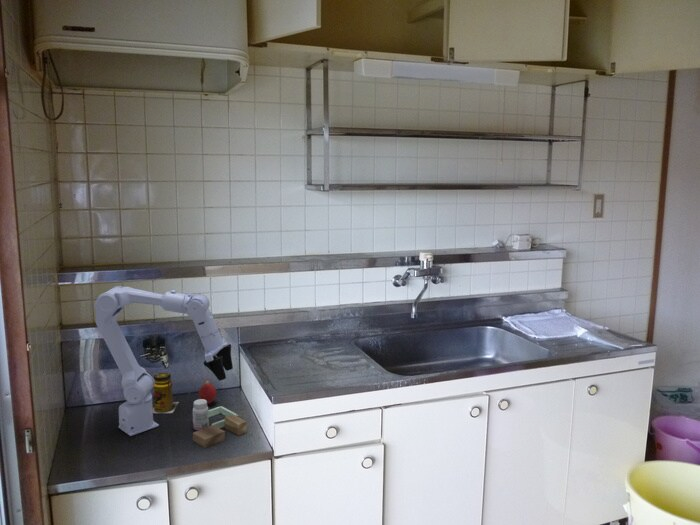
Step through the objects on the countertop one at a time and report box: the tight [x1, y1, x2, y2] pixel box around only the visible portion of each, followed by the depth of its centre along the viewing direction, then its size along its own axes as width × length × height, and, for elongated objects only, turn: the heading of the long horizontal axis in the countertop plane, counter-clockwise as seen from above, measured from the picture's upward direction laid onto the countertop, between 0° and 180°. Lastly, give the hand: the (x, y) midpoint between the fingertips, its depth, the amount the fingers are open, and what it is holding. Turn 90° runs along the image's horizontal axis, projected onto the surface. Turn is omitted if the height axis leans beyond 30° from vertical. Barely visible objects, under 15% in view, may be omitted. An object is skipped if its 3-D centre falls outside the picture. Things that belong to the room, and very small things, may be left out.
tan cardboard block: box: [192, 424, 226, 449], centre depth 175 cm, size 7×6×3 cm
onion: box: [198, 380, 217, 405], centre depth 199 cm, size 6×6×8 cm
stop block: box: [224, 414, 247, 436], centre depth 182 cm, size 3×7×4 cm, turn 47°
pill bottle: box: [192, 398, 210, 431], centre depth 183 cm, size 5×5×8 cm
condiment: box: [152, 372, 180, 414], centre depth 195 cm, size 7×8×12 cm
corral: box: [208, 405, 240, 429], centre depth 188 cm, size 10×10×2 cm
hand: (226, 374), depth 179 cm, fingers open, 7 cm apart
